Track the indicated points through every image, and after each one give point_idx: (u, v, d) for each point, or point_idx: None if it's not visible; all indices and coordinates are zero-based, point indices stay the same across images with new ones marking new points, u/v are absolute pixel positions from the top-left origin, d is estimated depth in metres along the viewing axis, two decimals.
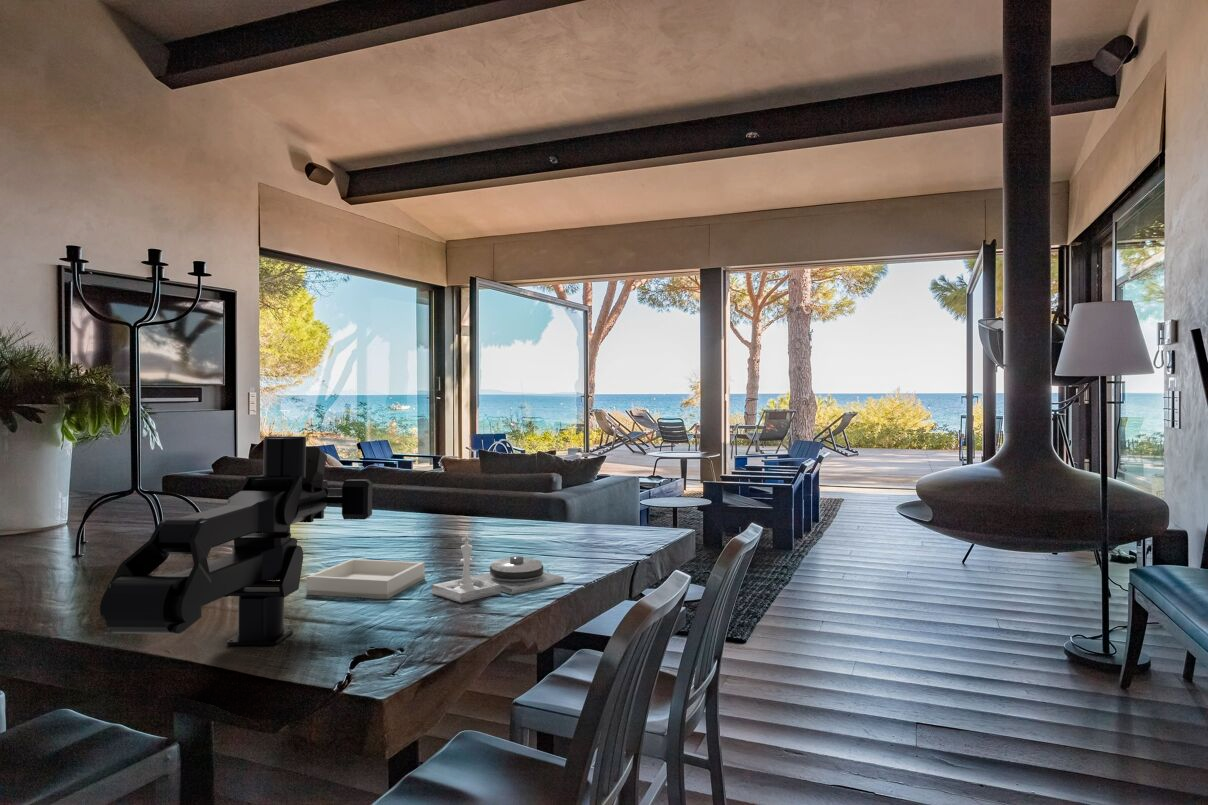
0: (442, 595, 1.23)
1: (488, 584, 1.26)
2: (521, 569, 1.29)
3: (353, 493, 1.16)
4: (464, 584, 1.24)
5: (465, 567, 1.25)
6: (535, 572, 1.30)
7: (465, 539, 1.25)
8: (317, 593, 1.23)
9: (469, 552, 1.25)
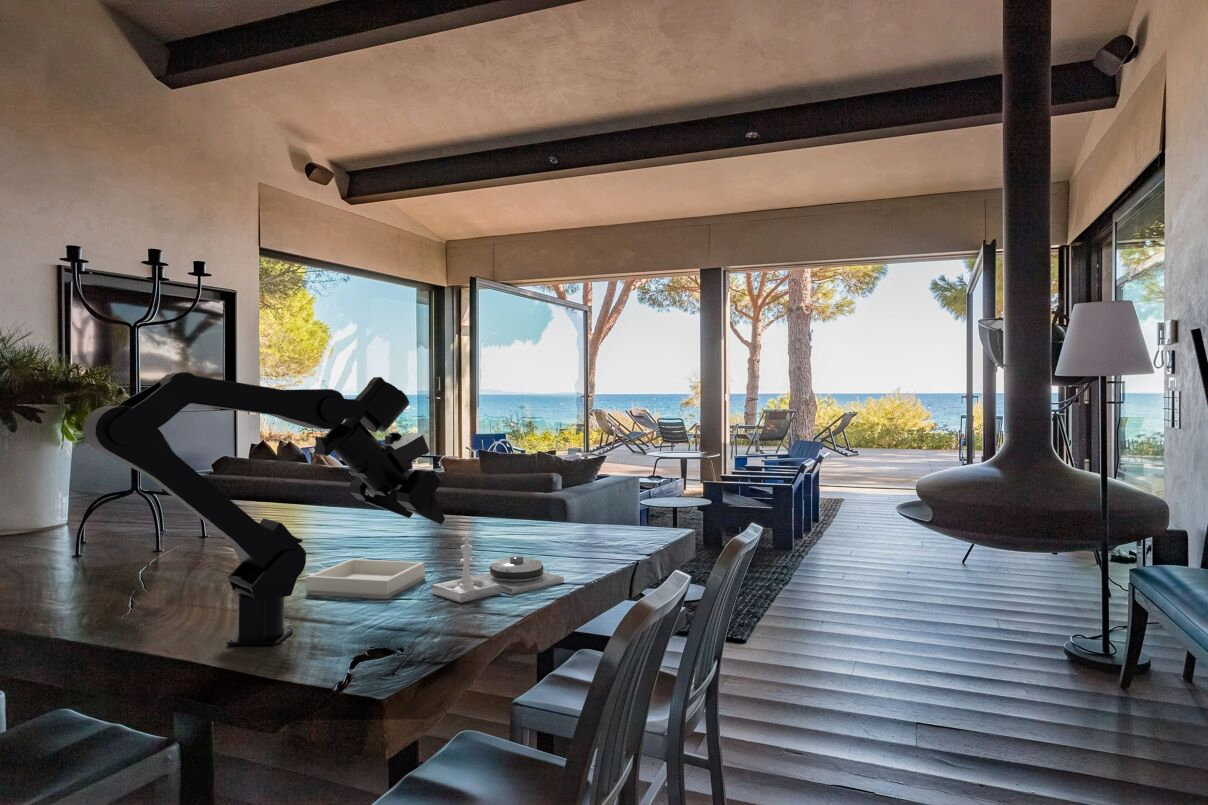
0: (442, 595, 1.23)
1: (488, 584, 1.26)
2: (521, 569, 1.29)
3: (417, 476, 1.10)
4: (464, 584, 1.24)
5: (465, 567, 1.25)
6: (535, 572, 1.30)
7: (465, 539, 1.25)
8: (317, 593, 1.23)
9: (469, 552, 1.25)
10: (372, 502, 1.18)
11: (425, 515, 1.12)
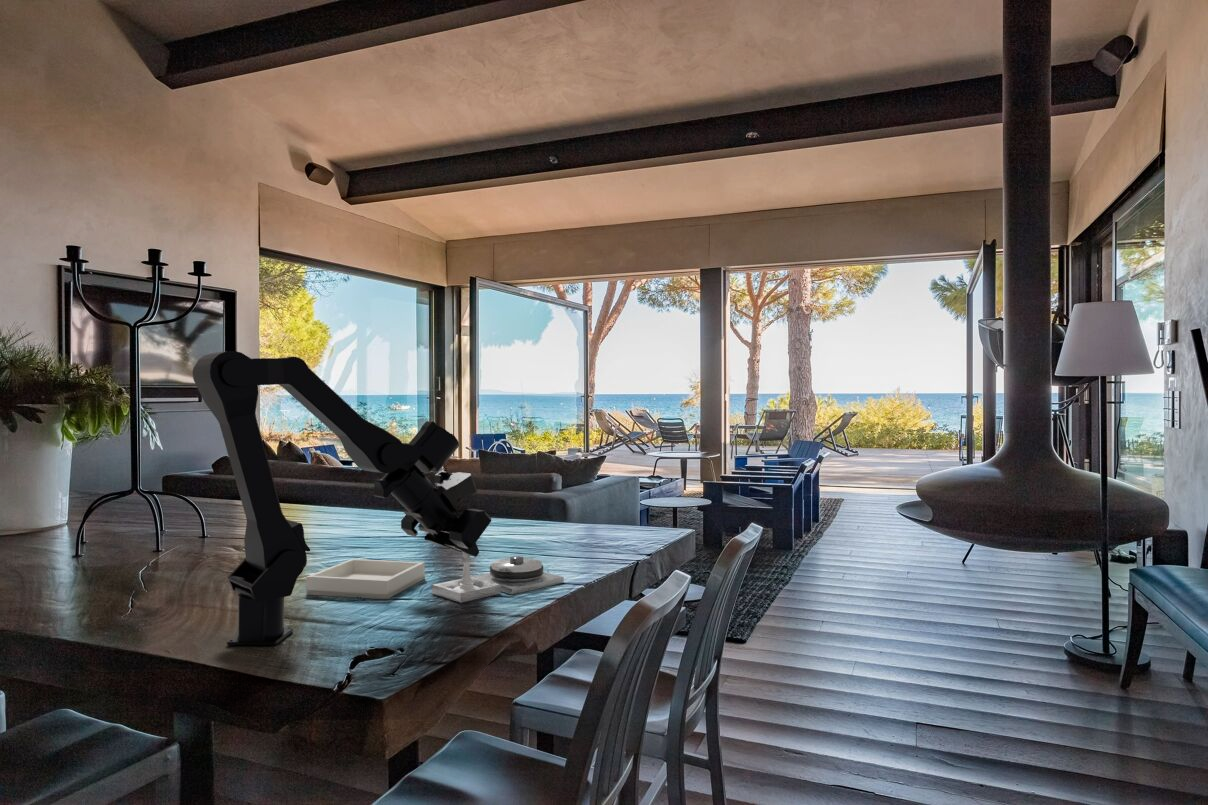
0: (442, 595, 1.23)
1: (488, 584, 1.26)
2: (521, 569, 1.29)
3: (468, 515, 1.17)
4: (464, 584, 1.24)
5: (465, 567, 1.25)
6: (535, 572, 1.30)
7: None
8: (317, 593, 1.23)
9: None
10: (434, 541, 1.22)
11: (462, 549, 1.21)
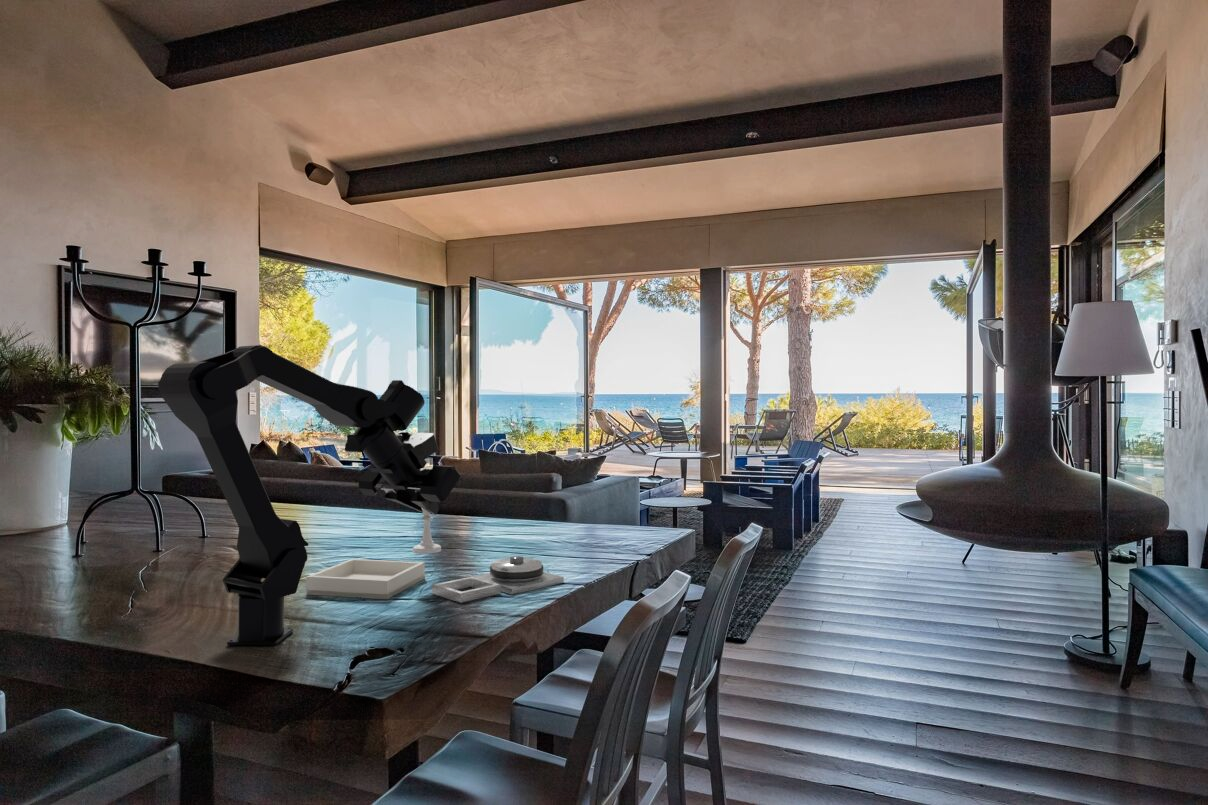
0: (442, 595, 1.23)
1: (488, 584, 1.26)
2: (521, 569, 1.29)
3: (438, 471, 1.21)
4: (426, 541, 1.27)
5: (426, 525, 1.28)
6: (535, 572, 1.30)
7: None
8: (317, 593, 1.23)
9: None
10: (397, 498, 1.25)
11: (426, 506, 1.25)
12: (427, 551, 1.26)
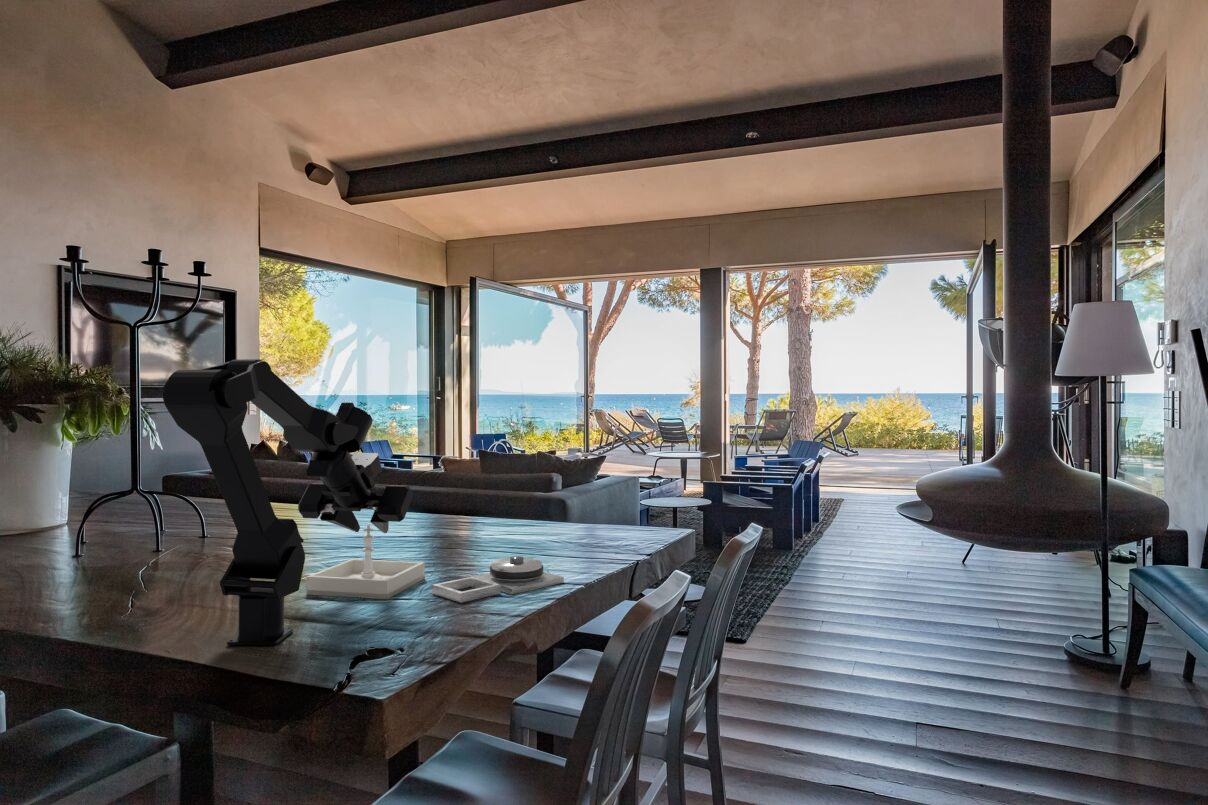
0: (442, 595, 1.23)
1: (488, 584, 1.26)
2: (521, 569, 1.29)
3: (394, 491, 1.24)
4: (368, 572, 1.29)
5: (368, 556, 1.29)
6: (535, 572, 1.30)
7: (367, 529, 1.29)
8: (317, 593, 1.23)
9: (372, 541, 1.29)
10: (335, 519, 1.25)
11: (383, 525, 1.26)
12: None
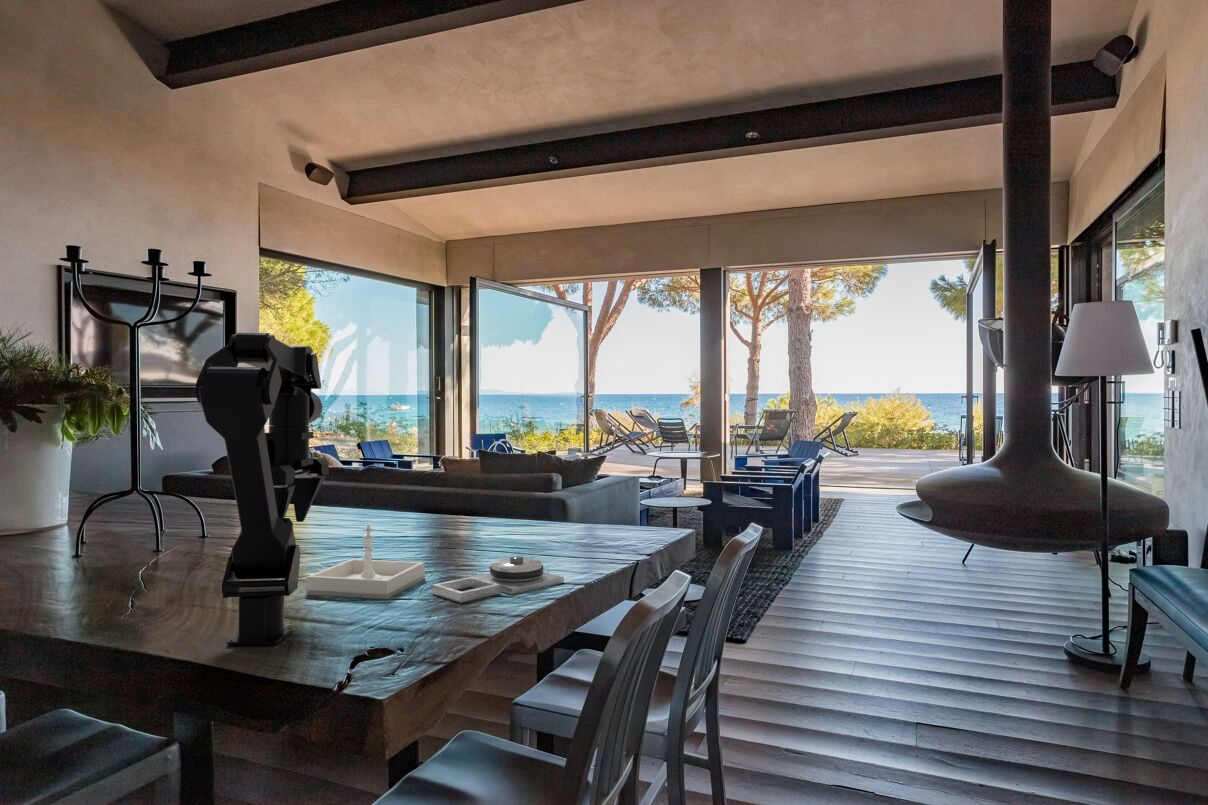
0: (442, 595, 1.23)
1: (488, 584, 1.26)
2: (521, 569, 1.29)
3: None
4: (368, 572, 1.29)
5: (368, 556, 1.29)
6: (535, 572, 1.30)
7: (367, 529, 1.29)
8: (317, 593, 1.23)
9: (372, 541, 1.29)
10: None
11: None
12: None
